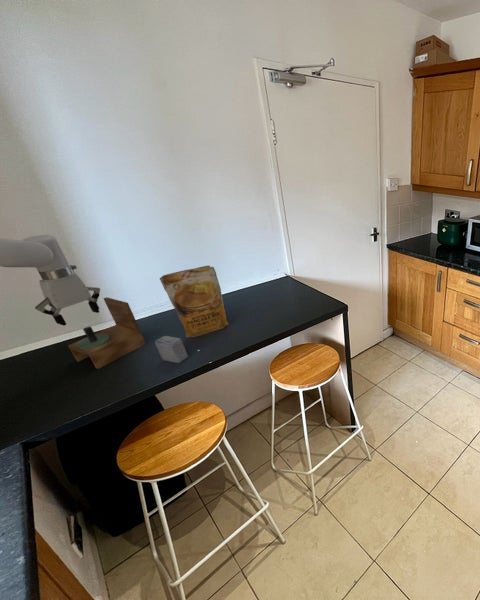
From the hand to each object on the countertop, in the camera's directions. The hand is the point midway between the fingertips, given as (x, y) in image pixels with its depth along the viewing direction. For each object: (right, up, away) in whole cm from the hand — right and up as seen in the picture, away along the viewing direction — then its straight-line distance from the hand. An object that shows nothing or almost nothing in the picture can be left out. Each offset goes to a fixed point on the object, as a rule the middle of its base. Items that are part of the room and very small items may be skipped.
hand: (80, 318), depth 111 cm
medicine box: (+29, -16, +8) cm, 34 cm away
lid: (0, -9, +5) cm, 11 cm away
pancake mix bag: (+30, -7, +25) cm, 40 cm away
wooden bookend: (+1, -14, +11) cm, 18 cm away
